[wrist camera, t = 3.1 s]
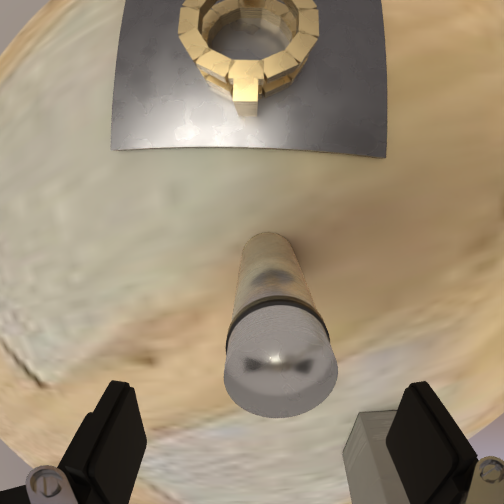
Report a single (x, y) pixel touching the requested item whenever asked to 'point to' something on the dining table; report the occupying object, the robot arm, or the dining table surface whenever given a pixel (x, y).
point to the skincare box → (372, 462)
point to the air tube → (276, 335)
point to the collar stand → (252, 76)
